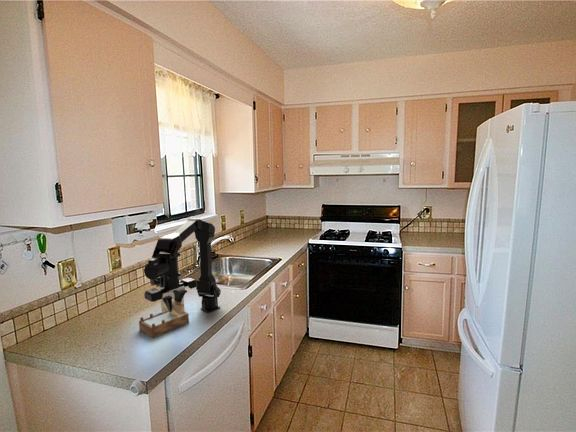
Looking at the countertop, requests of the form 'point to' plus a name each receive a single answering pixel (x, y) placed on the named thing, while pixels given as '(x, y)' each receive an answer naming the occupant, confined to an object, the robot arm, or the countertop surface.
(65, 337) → the countertop surface
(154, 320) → the lid
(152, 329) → the brown frame
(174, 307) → the tan block
